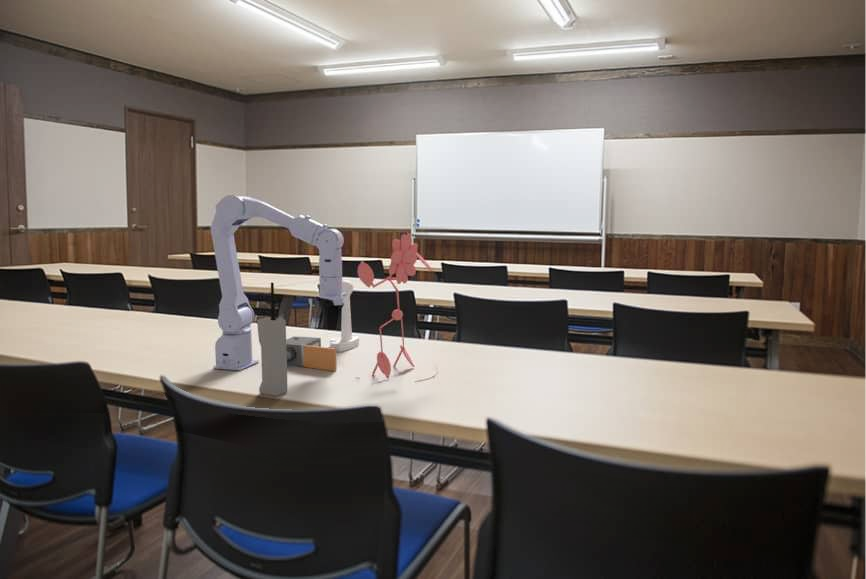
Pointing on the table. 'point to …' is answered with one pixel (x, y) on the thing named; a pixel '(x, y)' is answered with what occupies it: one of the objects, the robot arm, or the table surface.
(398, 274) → the figurine
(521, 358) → the table surface
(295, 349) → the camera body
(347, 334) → the joystick
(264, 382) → the vintage mobile phone
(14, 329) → the table surface
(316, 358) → the side door
